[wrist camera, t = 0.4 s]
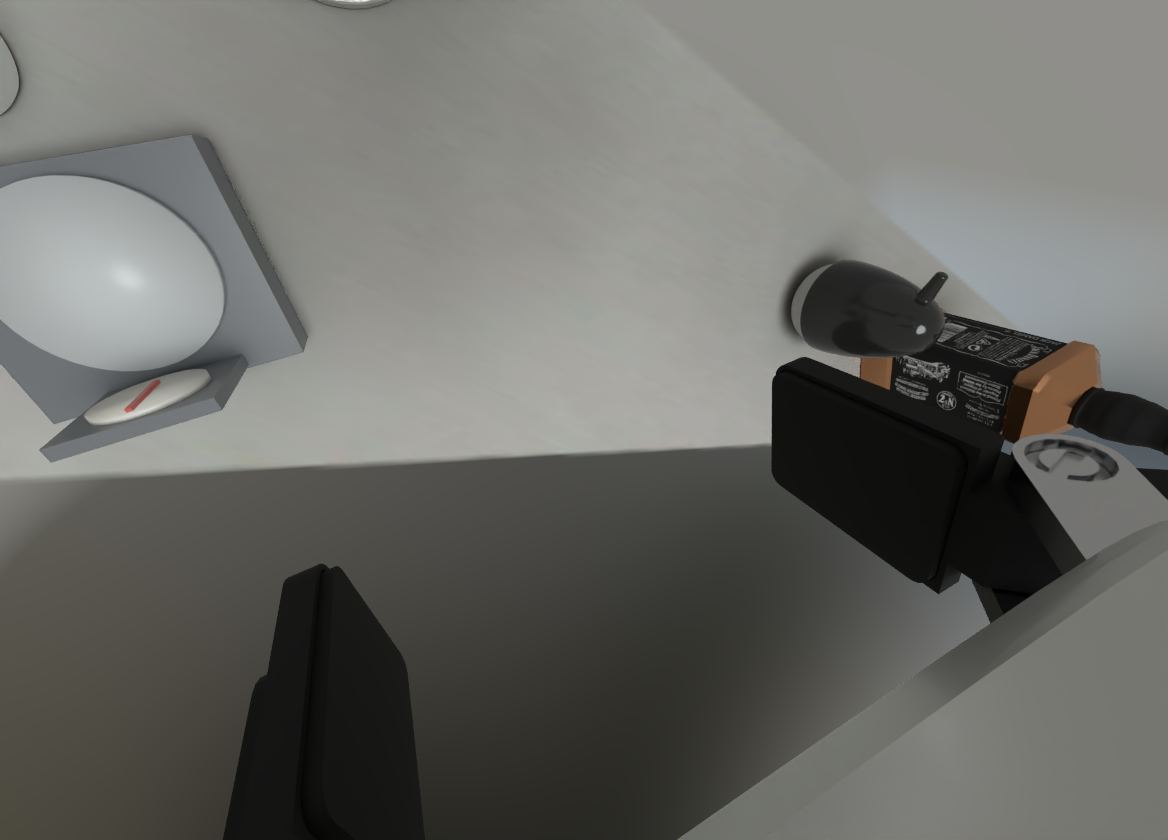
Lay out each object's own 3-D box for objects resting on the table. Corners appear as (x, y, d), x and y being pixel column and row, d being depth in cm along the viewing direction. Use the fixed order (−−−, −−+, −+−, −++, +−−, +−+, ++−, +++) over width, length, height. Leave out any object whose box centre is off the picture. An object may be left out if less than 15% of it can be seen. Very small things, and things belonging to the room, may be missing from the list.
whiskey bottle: (859, 390, 68) (1176, 522, 42) (862, 328, 63) (1227, 433, 36) (912, 361, 70) (1245, 469, 44) (919, 298, 65) (1303, 378, 39)
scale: (-89, 190, 27) (-353, 195, 17) (208, 139, 30) (137, 119, 21) (83, 400, 33) (-31, 491, 24) (307, 337, 37) (290, 392, 27)
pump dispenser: (852, 250, 56) (993, 270, 44) (831, 335, 61) (954, 375, 48) (785, 256, 53) (918, 279, 40) (769, 346, 57) (884, 391, 45)
